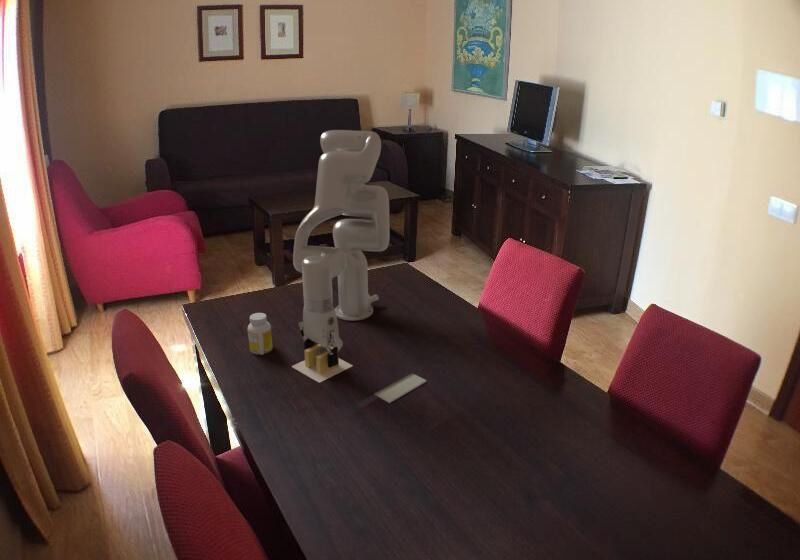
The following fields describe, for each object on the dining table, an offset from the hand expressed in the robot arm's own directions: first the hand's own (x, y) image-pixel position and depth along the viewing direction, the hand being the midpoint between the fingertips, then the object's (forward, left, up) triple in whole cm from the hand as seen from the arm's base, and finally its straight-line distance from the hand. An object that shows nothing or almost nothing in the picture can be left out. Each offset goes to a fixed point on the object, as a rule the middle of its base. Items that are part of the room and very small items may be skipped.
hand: (321, 359), depth 175 cm
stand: (0, 0, -3) cm, 3 cm away
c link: (0, 0, -2) cm, 2 cm away
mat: (-8, +18, -3) cm, 20 cm away
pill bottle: (+6, -20, -4) cm, 21 cm away
